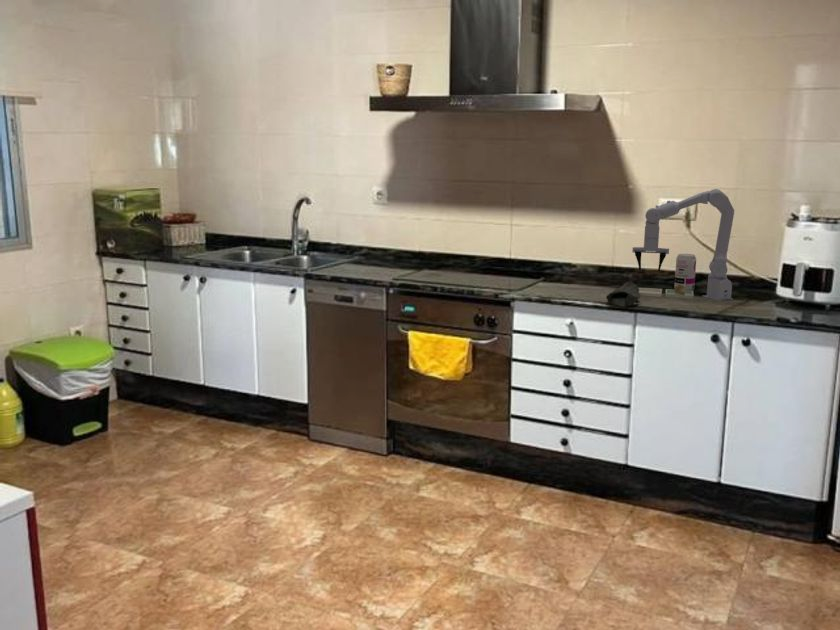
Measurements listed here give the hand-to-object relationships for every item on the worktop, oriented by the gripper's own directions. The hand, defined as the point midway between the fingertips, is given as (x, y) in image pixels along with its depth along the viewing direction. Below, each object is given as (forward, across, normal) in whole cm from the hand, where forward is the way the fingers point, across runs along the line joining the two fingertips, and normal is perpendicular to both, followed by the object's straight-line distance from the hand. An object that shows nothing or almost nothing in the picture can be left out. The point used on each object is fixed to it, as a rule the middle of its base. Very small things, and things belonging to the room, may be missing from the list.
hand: (649, 270), depth 342 cm
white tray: (+10, 0, 0) cm, 10 cm away
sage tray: (+10, +12, 0) cm, 16 cm away
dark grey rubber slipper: (+11, -8, -16) cm, 21 cm away
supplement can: (+11, +15, +17) cm, 25 cm away
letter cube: (+10, +12, 0) cm, 16 cm away
